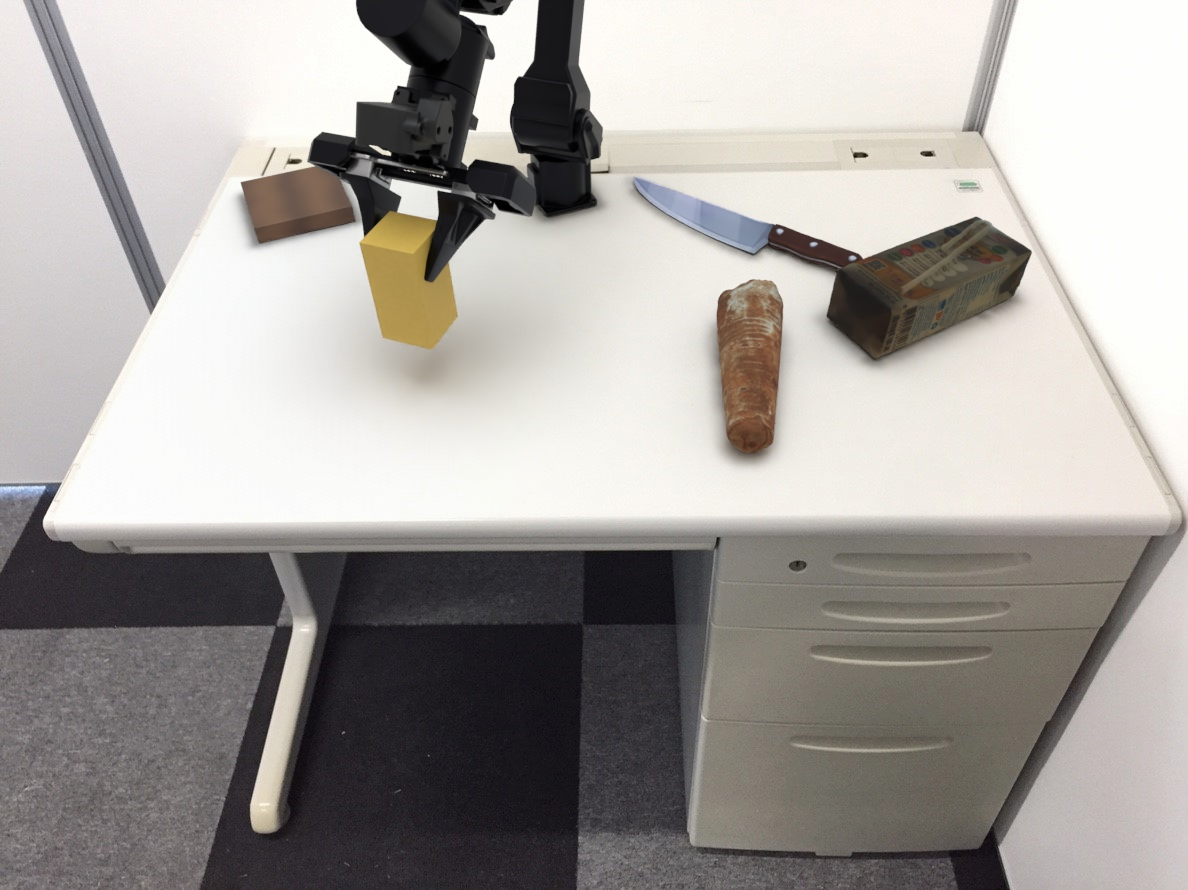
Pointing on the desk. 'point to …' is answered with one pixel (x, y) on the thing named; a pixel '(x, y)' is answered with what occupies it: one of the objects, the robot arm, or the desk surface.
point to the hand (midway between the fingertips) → (399, 275)
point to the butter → (407, 281)
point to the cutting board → (296, 203)
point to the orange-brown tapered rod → (750, 361)
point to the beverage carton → (926, 285)
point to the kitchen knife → (742, 227)
